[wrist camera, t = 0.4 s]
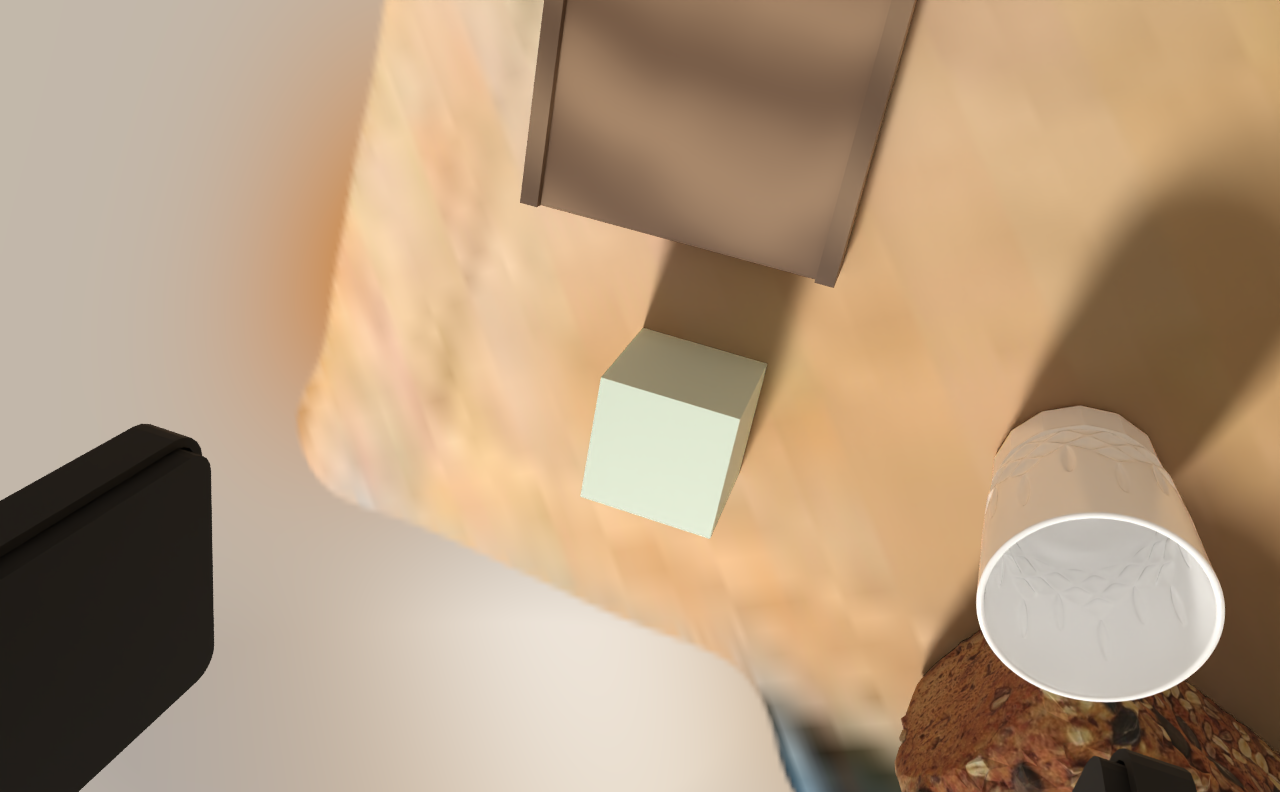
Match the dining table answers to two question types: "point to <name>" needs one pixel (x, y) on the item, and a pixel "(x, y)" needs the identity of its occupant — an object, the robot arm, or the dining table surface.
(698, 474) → the sage block
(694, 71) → the board
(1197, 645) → the white cup
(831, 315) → the dining table surface
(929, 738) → the bread
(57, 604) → the robot arm
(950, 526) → the dining table surface
